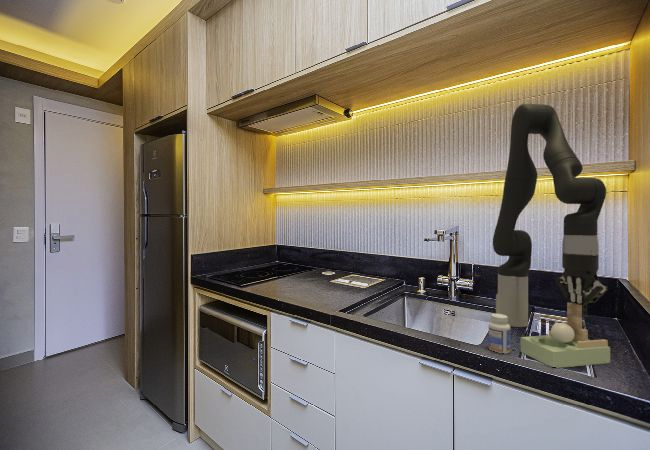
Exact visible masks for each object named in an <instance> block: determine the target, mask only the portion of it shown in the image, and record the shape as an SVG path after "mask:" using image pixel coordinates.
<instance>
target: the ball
mask: <svg viewBox="0 0 650 450" xmlns="http://www.w3.org/2000/svg"><path fill="white" fill-rule="evenodd" d="M565 323H566V322H558V323H557V322H556V323H554V324H553V325H552V326H551V329H550V331H551V334H552V336H553V337H554V338H555V339H556V340H557V341H559V342H563V343H568V342H571V341H572V340H573V339H574V337H575V333H574V330H573V329H572V328H571V327H570V326H569V325H567V324H565Z"/></svg>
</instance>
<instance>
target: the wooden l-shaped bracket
mask: <svg viewBox="0 0 650 450" xmlns="http://www.w3.org/2000/svg"><path fill="white" fill-rule="evenodd" d="M566 304H567V305H566V307H567V309H566V314H567V315H566V319H567V320H566V321H567V322H564V323H565V324H567V325H569V326H570V327H571V328H572V329H573V330H574V333H575V337H574V339H573V341H576V342H577V341H588V339H589V338H588V337H589V333H588V332H589V330H588V329H584V328H583V317H582V305H579V304H575V303H572V301H570V302H567V303H566Z"/></svg>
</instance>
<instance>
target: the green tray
mask: <svg viewBox="0 0 650 450" xmlns="http://www.w3.org/2000/svg"><path fill="white" fill-rule="evenodd" d="M608 342H609V340H607V339H593V340H592V339H589V338H588V341H577V342H576V341H573V340H572V341H571V342H568V343H563V342H559V341H557V340H556V339H555V338H554V337H553V336H552V334H551V330H548V334H546V335H536V336H535V335H534V336H521V337H520V353H522V354H524V355H526V356H528V357H531V358H532V359H534V360H536V361H538V362H540V363H542V364H544V365H546V366H548V365H549V366H548V367H550V366H552V367H556V368H555V369H559V368H560V369H562V368H571V367H583V366H592V365H600V364H601V365H603V364H611V346H608V345H609V343H608ZM552 367H551V368H552Z"/></svg>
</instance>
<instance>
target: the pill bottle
mask: <svg viewBox="0 0 650 450" xmlns="http://www.w3.org/2000/svg"><path fill="white" fill-rule="evenodd" d="M490 319H491V321H490V322H488V349H489V350H490V351H491V350H492V351H491V352H493V351H495V352H494V353H496V352H498V353H497V354H502V353H504V354H509V353H510V352H511V350H512V347H511V344H512V343H511V340H512V339H511V337H512V335H511V331H512V330H511V326H510V325H509V324H507V322H508V317H507V316H506V315H502V314H496V313H491V316H490Z"/></svg>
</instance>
